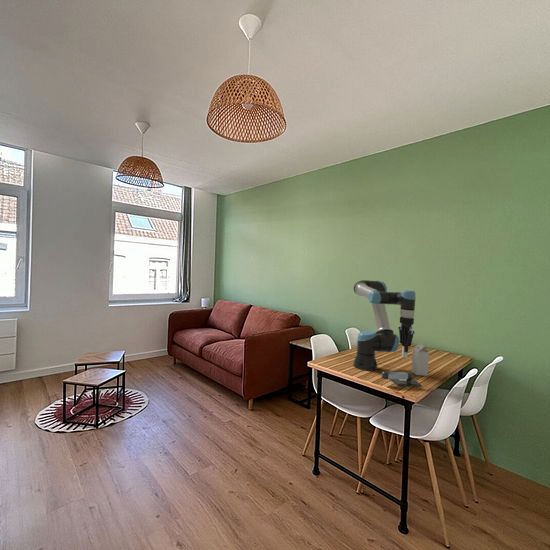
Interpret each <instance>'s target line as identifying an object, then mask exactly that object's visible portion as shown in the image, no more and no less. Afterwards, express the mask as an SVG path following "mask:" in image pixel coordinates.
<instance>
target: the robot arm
mask: <svg viewBox="0 0 550 550" xmlns="http://www.w3.org/2000/svg"><path fill="white" fill-rule="evenodd" d="M387 287H388V286H387V285H386V283H385V282H384V281H380V280H365V279H364V280H363V279H362V280H359V281H357V282H355V284H354V285H353V292H354V293H355V294H356V295H357V296H359V297H364V298H366V299H368V301H369V303H370V304H371V306H372V312H373V314H374V315H373V316H374V321H375V325H376V331H373V330H363V331H360V332H359V333H358V334H357V339H356V340H357V341H356V343H357V344H356V347H357V348H356V355H355V357H354V359H353V363H352V365H353V367H355V368H357V369H360V370H363V371H376V370H377V369H378V363H377V359H376V352H379V353H395V352H397V350H398V348H399V345H400V344H401V358H403V359H404V358H405V359H406V358H408V353H409V348H410V347H412V342H413V338H414V335H415V330H413V326H412V325H414V323H415V319H414V318H415V309H416V292H415V290H409V289H407V290H406V289H405V290H401V292H400V291H399V292H398V291H391V292H390V291H388V288H387ZM386 305H397V306H400V310H399V311H400V312H399V314H400V315H399V316H400V317H399V323H400V324H401V325H400V326H398V332H399V336H398V335H397V334H395V333H394V330H393V329H392V328H391V326H390V321H389V316H388V311H387V308H386Z"/></svg>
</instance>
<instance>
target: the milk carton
mask: <svg viewBox="0 0 550 550" xmlns="http://www.w3.org/2000/svg"><path fill="white" fill-rule="evenodd" d="M411 358H412V359H411V370H410V372H411V373H413V375H416V376H426V377H427V376H429V375H428V373H429V362H430V361H429V359H430V352H429V351H428V349H426V348H425V345H424V344H423V343H420V342H418V344H416V345H415V346H414V347H413V348H412V357H411Z"/></svg>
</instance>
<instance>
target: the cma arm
mask: <svg viewBox="0 0 550 550" xmlns="http://www.w3.org/2000/svg"><path fill="white" fill-rule="evenodd" d="M413 377H414V373H413V372H412V371H386V370H385V371H382V372H381V378H382V379H383V380H389V379H409V380H412V379H414V378H413Z"/></svg>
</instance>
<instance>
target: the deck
mask: <svg viewBox="0 0 550 550" xmlns="http://www.w3.org/2000/svg"><path fill="white" fill-rule="evenodd" d="M388 380H389V381H390V380H391V381H390V382H392V383H393V384H394V383H395V384H394V385H396V386H398V387H422V384H421V383H420V382H419V381H417V380H415V379H414V378H413V379H412V380H409V379H388Z"/></svg>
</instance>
